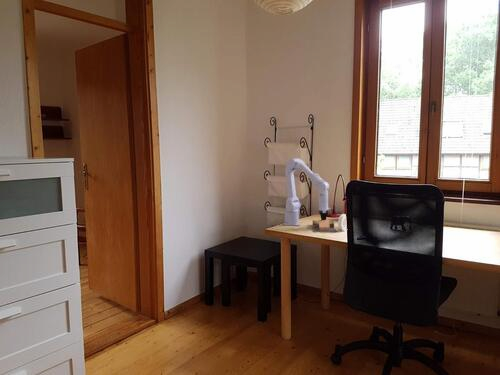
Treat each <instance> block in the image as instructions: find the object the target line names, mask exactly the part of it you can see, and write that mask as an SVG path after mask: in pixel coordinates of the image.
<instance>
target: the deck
mask: <svg viewBox="0 0 500 375" xmlns="http://www.w3.org/2000/svg"><path fill="white" fill-rule="evenodd" d="M319 220H320V219H318V220H314V219H313V220H312V229H313V228H319ZM328 220H329V226H330V228H335V222H334V221H333V220H334V219H333V220H332V219H331V220H330V219H328Z"/></svg>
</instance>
